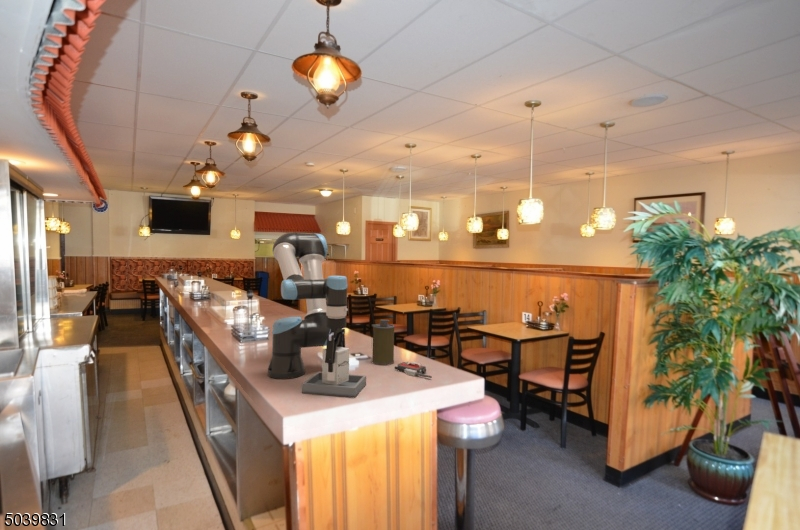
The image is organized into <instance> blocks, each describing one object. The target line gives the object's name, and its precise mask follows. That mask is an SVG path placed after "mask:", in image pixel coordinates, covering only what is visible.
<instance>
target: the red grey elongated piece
mask: <svg viewBox="0 0 800 530" xmlns="http://www.w3.org/2000/svg"><path fill="white" fill-rule="evenodd" d="M394 369H395V370H397V371H398V370H399V371H398V372H401V371H402V372H401V373H405V374H406V375H407V376H411V377H416V375H417V377H418V376H419V377H423V378H429V379H432V375H428V374H425V373H427V367H426V366H424V365H422V364H421V363H420V362H417V361H416V362H415V361H411V362H409V361H402V362H400V363H398V364H397V366H394Z"/></svg>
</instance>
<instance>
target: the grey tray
mask: <svg viewBox="0 0 800 530" xmlns="http://www.w3.org/2000/svg"><path fill="white" fill-rule="evenodd" d="M366 385H367V375H361V374H351V373H349V381H346V382H344V383H341V384H339V385H337V386H336V385H331V384H327V383H323V382H322V372H321V371H317V372H316V373H314V374H313V375H311V376H310V377H309V378H308V379H307V380H305V381H304V382H302V384H301V387H302V388H301V393H302V394H305V395H306V394H309V395H319V396H329V397H330V396H331V397H340V398H344V397H345V398H351V397H354V399H355V398H357V396H358V395H359V394H360V393H361V392H362V390H363V389H364V388H365V387H364V386H366ZM359 392H360V393H359Z"/></svg>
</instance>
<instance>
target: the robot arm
mask: <svg viewBox="0 0 800 530" xmlns="http://www.w3.org/2000/svg"><path fill="white" fill-rule="evenodd" d="M272 254H273V257H274V259H275V260H277V262H278V265H279V268H280V273H281V275H282V279H283V280H282V281H281V284H280V295H281V297H282V299H283V300H292V301H293V300H295V301H296V300H306V301H305V303H306V314H305V315H304V319H302V317H301V316H288V317H283V318H279V319H277V320H274V322H273V324H272V332H271V334H272V346H271V347H272V351H271V352H272V353H271V354H272V355H271V358H270V361H269V365H268V368H267V376H268V377H269V378H271V379H272V378H273V379H277V380H280V379H281V380H286V379H287V380H288V379H295V378H298V377H301V376H303V375H305V374H306V366H305V363H304V361H303V357H302V348H316V347H326V348H325V349H326V358H325V363H328V367H327V380H329V381H335V363H334V361H335V351H336V348H337V347H344V348H346V338H345V337H346V335H345V334H346V328H347V322H348V321H347V313H348V311H349V309H348V308H347V307H348V302H347V301H348V286H349V285H348V278H347V276H346V275H329V276H327V278H324V273H323V266H322V265H323V264H322V263H323V262H324V261H325V258H326V257H327V256H328V243H327V239H326V237H325V236H324V235H323V234H322V233H321V234H320V233H315V232H312V233H306V232H292V231H291V232H287V233H283V234H281V235H280V236H279V237H278V238H277V239H275V241H274V243H273V245H272ZM297 258H298V260H297ZM299 263H300V264H301V265H302V270H303V271H302V270H301V268H300V265H299ZM302 272H303V273H302Z"/></svg>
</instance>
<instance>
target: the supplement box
mask: <svg viewBox="0 0 800 530" xmlns="http://www.w3.org/2000/svg"><path fill="white" fill-rule="evenodd" d="M325 358H326V348H324V349H322V359H321V360H322V365H321V366H322V367H321V368H322V382H323V383H327V384H331V385H336V386H337V385H339V384H341V383H344V382H346V381H349V374H350V348H349V347H345V348H344V347H337V348H336V351H335V361H334V363H335V381H329V380H327V367H328V363H325Z"/></svg>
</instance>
